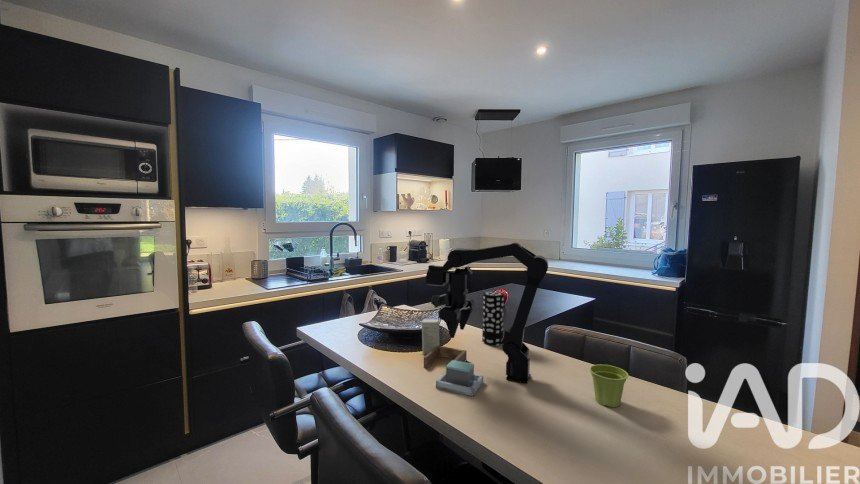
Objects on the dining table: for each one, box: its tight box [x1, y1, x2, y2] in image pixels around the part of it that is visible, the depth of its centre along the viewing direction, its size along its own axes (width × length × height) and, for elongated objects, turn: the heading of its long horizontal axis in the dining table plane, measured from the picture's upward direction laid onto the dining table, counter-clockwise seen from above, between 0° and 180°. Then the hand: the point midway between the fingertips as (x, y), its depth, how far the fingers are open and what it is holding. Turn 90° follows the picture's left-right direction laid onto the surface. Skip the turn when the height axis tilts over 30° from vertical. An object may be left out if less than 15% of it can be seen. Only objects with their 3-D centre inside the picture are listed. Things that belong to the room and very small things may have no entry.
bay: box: [423, 345, 467, 368], centre depth 121 cm, size 11×12×4 cm
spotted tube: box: [481, 291, 505, 347], centre depth 142 cm, size 8×8×20 cm
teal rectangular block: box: [445, 359, 475, 387], centre depth 106 cm, size 7×5×6 cm
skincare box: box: [421, 318, 440, 355], centre depth 131 cm, size 6×4×12 cm
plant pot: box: [589, 363, 629, 408], centre depth 96 cm, size 9×9×9 cm
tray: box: [435, 371, 484, 397], centre depth 106 cm, size 12×10×2 cm
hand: (457, 333), depth 116 cm, fingers open, 9 cm apart
